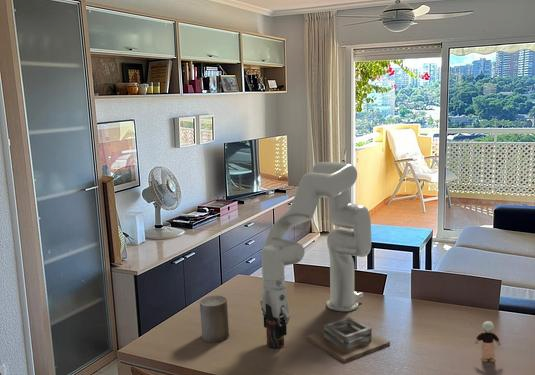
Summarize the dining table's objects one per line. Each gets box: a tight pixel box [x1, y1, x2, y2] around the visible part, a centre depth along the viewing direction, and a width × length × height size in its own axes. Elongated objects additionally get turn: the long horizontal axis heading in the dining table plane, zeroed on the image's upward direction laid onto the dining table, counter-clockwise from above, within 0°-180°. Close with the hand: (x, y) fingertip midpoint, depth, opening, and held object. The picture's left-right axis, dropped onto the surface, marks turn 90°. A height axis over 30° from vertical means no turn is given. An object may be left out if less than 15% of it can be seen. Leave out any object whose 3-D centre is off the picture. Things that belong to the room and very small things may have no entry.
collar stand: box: [306, 316, 391, 363], centre depth 179 cm, size 20×20×6 cm
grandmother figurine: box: [474, 320, 502, 363], centre depth 163 cm, size 8×4×13 cm, turn 92°
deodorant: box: [265, 304, 285, 350], centre depth 178 cm, size 6×6×15 cm
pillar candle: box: [199, 294, 230, 343], centre depth 185 cm, size 10×10×15 cm
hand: (275, 330), depth 178 cm, fingers open, 8 cm apart
